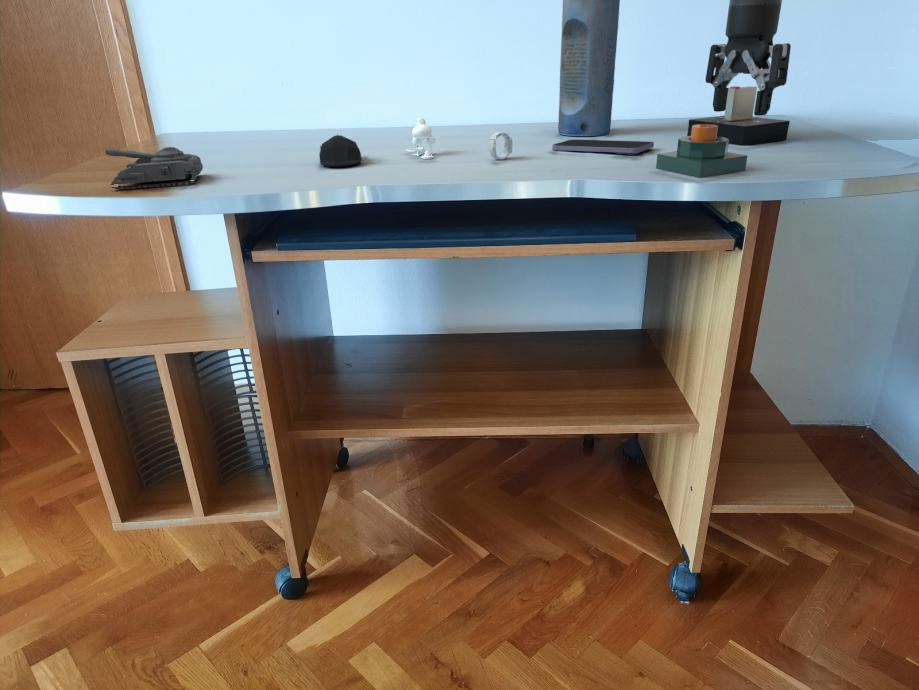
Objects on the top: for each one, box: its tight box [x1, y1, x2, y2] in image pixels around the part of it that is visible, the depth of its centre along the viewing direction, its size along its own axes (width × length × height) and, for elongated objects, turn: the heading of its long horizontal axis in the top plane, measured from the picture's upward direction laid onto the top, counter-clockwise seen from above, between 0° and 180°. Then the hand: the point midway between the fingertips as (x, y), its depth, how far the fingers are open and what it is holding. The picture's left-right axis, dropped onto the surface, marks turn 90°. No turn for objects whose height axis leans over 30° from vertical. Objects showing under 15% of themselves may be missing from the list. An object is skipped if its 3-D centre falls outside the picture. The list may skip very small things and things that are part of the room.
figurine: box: [406, 117, 437, 160], centre depth 104 cm, size 5×10×6 cm, turn 8°
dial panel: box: [686, 115, 791, 147], centre depth 107 cm, size 12×10×3 cm
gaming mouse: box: [318, 134, 362, 168], centre depth 102 cm, size 6×15×4 cm, turn 12°
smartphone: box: [551, 139, 655, 156], centre depth 102 cm, size 7×1×15 cm
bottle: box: [557, 0, 621, 137], centre depth 113 cm, size 10×10×30 cm
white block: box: [724, 85, 758, 121], centre depth 105 cm, size 5×1×5 cm, turn 116°
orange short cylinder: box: [691, 124, 718, 141], centre depth 84 cm, size 3×3×2 cm
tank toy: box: [105, 146, 204, 191], centre depth 90 cm, size 12×10×5 cm
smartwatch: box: [487, 131, 513, 161], centre depth 98 cm, size 4×2×4 cm, turn 123°
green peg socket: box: [655, 135, 748, 179], centre depth 85 cm, size 8×8×4 cm
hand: (739, 113), depth 106 cm, fingers open, 8 cm apart
